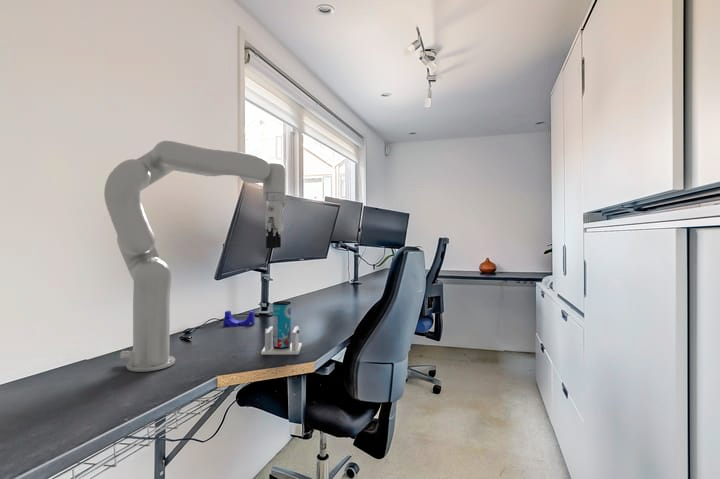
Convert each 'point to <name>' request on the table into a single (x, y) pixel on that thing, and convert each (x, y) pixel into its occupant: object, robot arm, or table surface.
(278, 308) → the beverage can
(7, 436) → the table surface
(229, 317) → the cable clip
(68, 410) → the table surface
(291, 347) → the clip holder
